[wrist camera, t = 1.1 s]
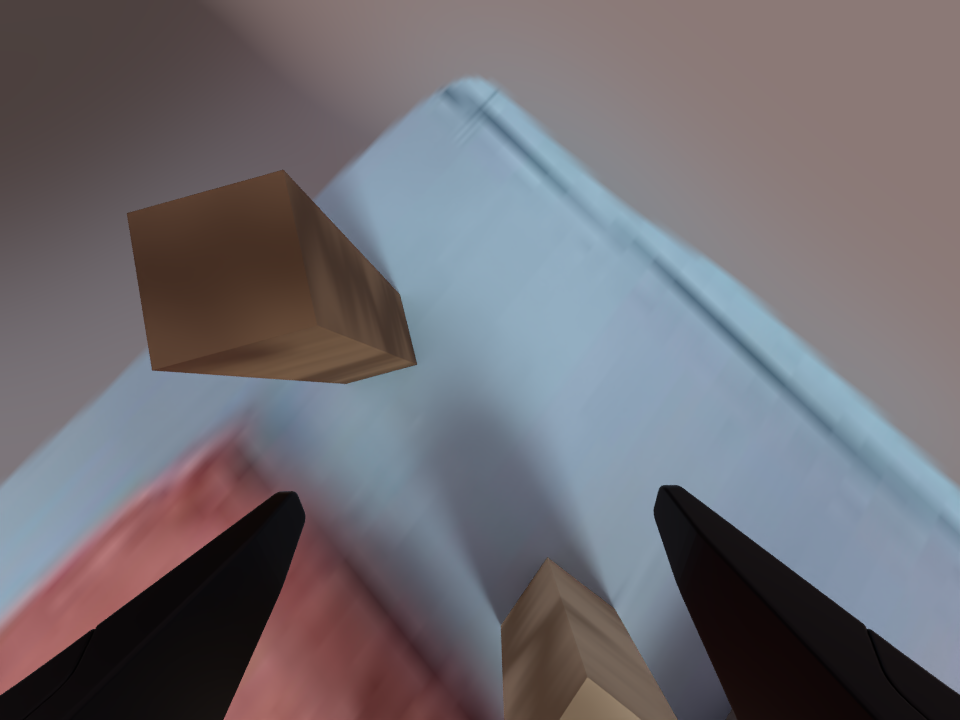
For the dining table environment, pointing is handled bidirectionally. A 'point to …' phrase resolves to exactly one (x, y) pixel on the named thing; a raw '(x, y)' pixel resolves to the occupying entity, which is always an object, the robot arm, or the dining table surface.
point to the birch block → (573, 657)
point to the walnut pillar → (262, 289)
